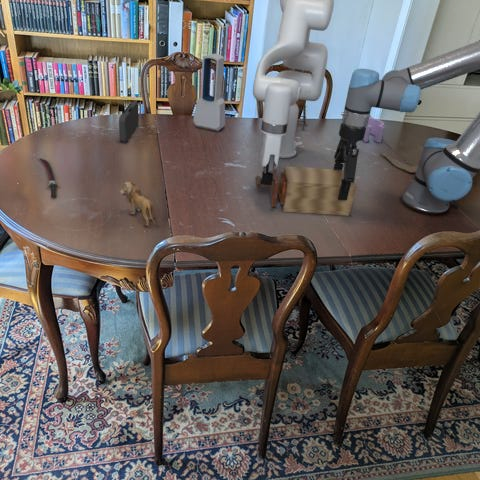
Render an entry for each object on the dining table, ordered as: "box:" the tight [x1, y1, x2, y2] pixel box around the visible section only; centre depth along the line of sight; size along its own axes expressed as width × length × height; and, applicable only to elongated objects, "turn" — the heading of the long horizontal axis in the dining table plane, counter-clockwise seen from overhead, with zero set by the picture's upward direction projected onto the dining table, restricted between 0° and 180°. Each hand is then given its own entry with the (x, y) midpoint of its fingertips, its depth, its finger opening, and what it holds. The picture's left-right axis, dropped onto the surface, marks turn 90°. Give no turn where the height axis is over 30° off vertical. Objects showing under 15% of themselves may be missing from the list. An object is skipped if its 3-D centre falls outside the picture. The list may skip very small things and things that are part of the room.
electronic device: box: [193, 53, 226, 132], centre depth 196 cm, size 12×8×30 cm, turn 71°
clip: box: [362, 114, 386, 143], centre depth 214 cm, size 20×12×7 cm, turn 11°
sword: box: [40, 158, 59, 198], centre depth 151 cm, size 31×3×1 cm, turn 26°
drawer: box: [255, 168, 287, 208], centre depth 149 cm, size 25×10×8 cm, turn 91°
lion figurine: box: [119, 181, 159, 227], centre depth 134 cm, size 15×5×9 cm, turn 50°
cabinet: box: [281, 165, 357, 217], centre depth 149 cm, size 21×11×10 cm, turn 91°
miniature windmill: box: [294, 69, 309, 131], centre depth 208 cm, size 9×8×30 cm
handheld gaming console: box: [118, 101, 139, 143], centre depth 187 cm, size 23×3×10 cm, turn 178°
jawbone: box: [380, 152, 419, 174], centre depth 187 cm, size 9×20×2 cm, turn 50°
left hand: (266, 183), depth 147 cm, fingers closed
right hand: (338, 190), depth 150 cm, fingers closed on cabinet, 11 cm apart
